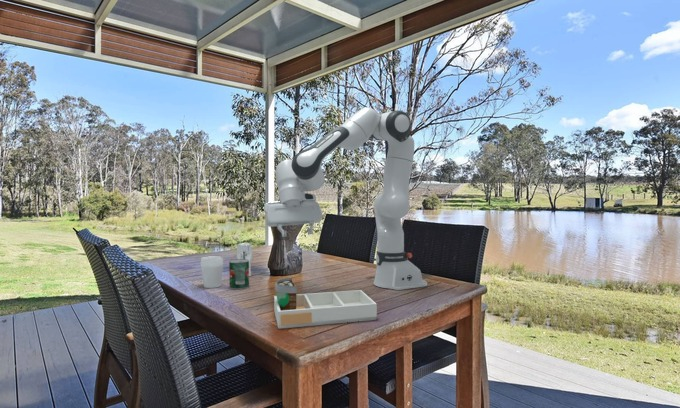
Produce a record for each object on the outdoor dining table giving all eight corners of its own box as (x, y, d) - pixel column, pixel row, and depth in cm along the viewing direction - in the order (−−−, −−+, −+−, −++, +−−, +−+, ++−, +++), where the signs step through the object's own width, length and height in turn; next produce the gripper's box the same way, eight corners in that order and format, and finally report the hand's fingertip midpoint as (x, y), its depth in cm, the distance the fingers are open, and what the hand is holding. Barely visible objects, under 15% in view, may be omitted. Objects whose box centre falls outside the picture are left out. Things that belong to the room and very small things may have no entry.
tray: (361, 304, 133) (361, 289, 133) (377, 320, 116) (377, 304, 116) (274, 310, 126) (274, 295, 125) (278, 329, 109) (278, 312, 109)
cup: (196, 287, 155) (195, 258, 155) (211, 282, 164) (210, 255, 163) (213, 290, 152) (213, 260, 151) (228, 284, 160) (227, 256, 160)
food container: (273, 308, 124) (273, 278, 124) (291, 306, 126) (291, 277, 125) (276, 320, 112) (276, 287, 112) (296, 319, 114) (296, 286, 114)
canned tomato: (225, 287, 156) (225, 260, 156) (242, 283, 162) (242, 258, 162) (236, 290, 151) (235, 263, 150) (253, 286, 157) (252, 260, 156)
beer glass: (248, 277, 172) (248, 245, 172) (234, 277, 174) (233, 244, 173) (254, 274, 179) (254, 243, 178) (241, 273, 180) (240, 242, 180)
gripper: (264, 198, 133) (269, 234, 128) (319, 194, 140) (326, 229, 135) (262, 206, 139) (267, 241, 133) (315, 202, 146) (322, 235, 140)
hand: (297, 235), depth 134 cm, fingers open, 8 cm apart
